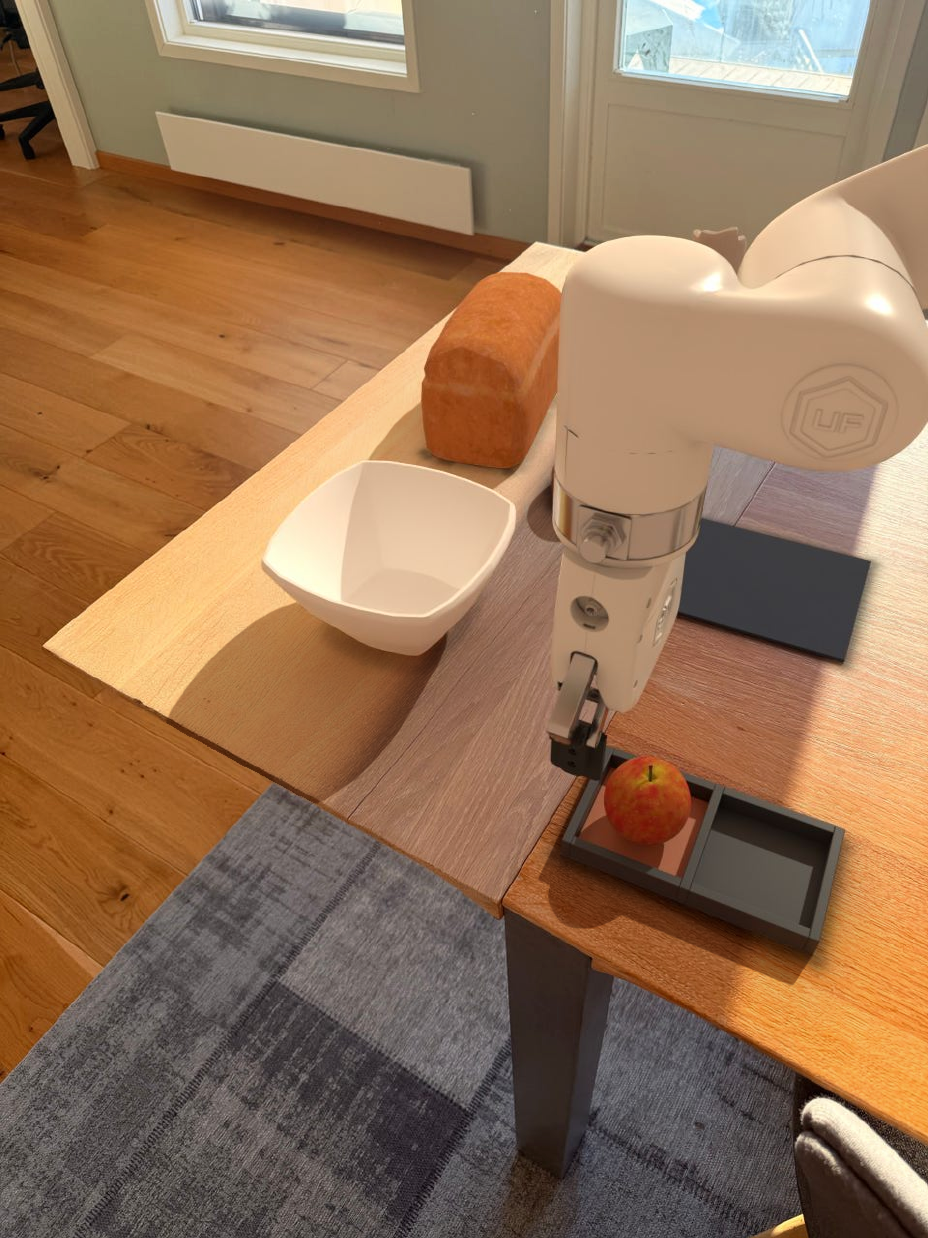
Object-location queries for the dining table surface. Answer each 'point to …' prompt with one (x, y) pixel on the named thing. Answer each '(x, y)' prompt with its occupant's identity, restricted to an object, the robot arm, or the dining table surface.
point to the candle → (724, 244)
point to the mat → (773, 588)
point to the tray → (721, 858)
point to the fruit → (647, 800)
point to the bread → (493, 372)
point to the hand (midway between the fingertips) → (604, 712)
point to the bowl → (391, 552)
